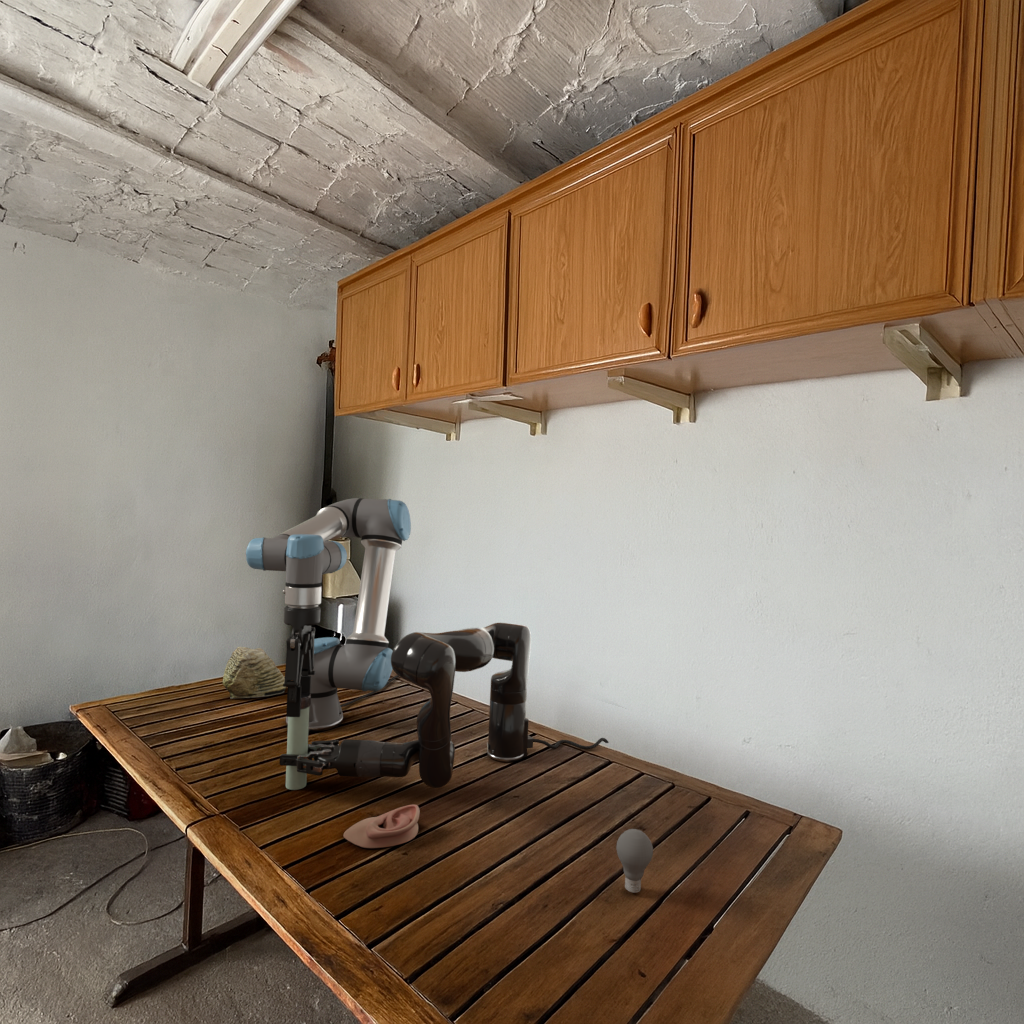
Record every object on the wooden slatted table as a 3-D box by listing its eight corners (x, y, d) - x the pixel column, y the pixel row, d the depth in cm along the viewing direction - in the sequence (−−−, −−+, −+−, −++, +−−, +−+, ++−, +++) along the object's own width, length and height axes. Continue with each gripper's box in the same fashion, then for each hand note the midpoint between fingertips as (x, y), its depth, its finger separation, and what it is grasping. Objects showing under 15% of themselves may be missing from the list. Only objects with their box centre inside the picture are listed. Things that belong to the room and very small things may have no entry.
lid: (292, 701, 141) (292, 691, 141) (313, 702, 141) (314, 692, 140) (283, 708, 136) (284, 697, 136) (306, 709, 136) (306, 698, 136)
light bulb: (610, 879, 108) (613, 822, 108) (644, 879, 109) (647, 822, 109) (619, 902, 102) (622, 840, 102) (655, 901, 103) (658, 840, 103)
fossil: (218, 695, 195) (220, 647, 195) (278, 685, 208) (279, 640, 207) (228, 703, 189) (230, 653, 188) (289, 692, 201) (290, 645, 201)
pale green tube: (289, 780, 141) (293, 693, 140) (309, 781, 141) (312, 694, 140) (282, 789, 136) (285, 699, 136) (302, 790, 136) (305, 700, 136)
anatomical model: (336, 822, 116) (363, 794, 127) (335, 843, 116) (362, 813, 127) (404, 832, 113) (426, 803, 124) (403, 854, 113) (425, 823, 124)
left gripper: (298, 598, 147) (294, 696, 148) (270, 612, 128) (265, 726, 128) (330, 599, 148) (326, 697, 148) (307, 614, 128) (303, 727, 128)
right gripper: (370, 729, 145) (296, 726, 145) (355, 754, 131) (272, 750, 131) (369, 761, 146) (294, 758, 146) (353, 790, 131) (271, 786, 131)
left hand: (298, 710), depth 138 cm, fingers open, 7 cm apart
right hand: (284, 755), depth 138 cm, fingers closed on pale green tube, 4 cm apart
